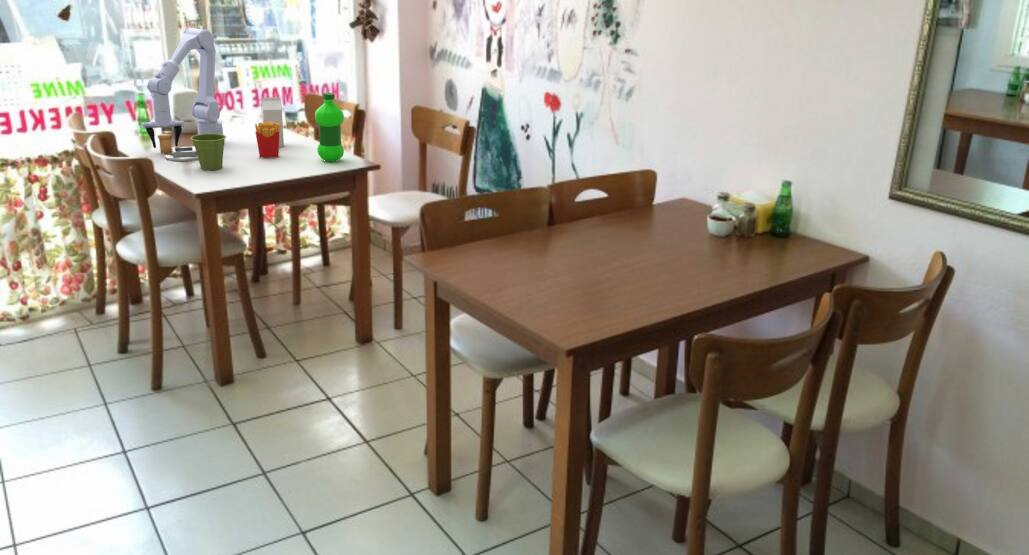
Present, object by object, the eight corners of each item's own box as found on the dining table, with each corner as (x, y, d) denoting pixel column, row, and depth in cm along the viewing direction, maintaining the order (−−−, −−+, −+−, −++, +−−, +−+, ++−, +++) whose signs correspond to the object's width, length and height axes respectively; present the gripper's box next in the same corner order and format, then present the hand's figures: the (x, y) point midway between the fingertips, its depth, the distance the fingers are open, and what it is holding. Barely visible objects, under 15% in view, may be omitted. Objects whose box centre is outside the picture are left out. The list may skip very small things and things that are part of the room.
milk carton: (284, 147, 332) (281, 99, 325) (265, 147, 329) (262, 99, 322) (281, 143, 338) (279, 95, 331) (263, 143, 335) (260, 96, 328)
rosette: (219, 151, 320) (219, 142, 319) (223, 159, 309) (222, 150, 308) (165, 154, 313) (164, 145, 311) (166, 162, 302) (165, 153, 300)
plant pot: (209, 162, 304) (206, 131, 300) (235, 166, 300) (233, 135, 296) (186, 169, 294) (182, 137, 290) (213, 174, 290) (210, 142, 286)
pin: (172, 150, 318) (171, 133, 315) (173, 153, 314) (171, 136, 311) (159, 151, 316) (157, 134, 314) (159, 154, 312) (157, 136, 309)
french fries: (257, 158, 313) (254, 123, 309) (256, 155, 317) (254, 121, 312) (282, 157, 316) (280, 123, 311) (281, 154, 320) (279, 121, 315)
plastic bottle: (341, 156, 321) (339, 91, 312) (346, 163, 312) (344, 96, 303) (315, 157, 318) (312, 91, 309) (319, 164, 309) (316, 96, 300)
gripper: (180, 107, 316) (184, 143, 321) (139, 109, 309) (143, 145, 314) (183, 111, 310) (187, 147, 315) (141, 112, 303) (146, 149, 308)
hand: (165, 146), depth 314 cm, fingers open, 7 cm apart
